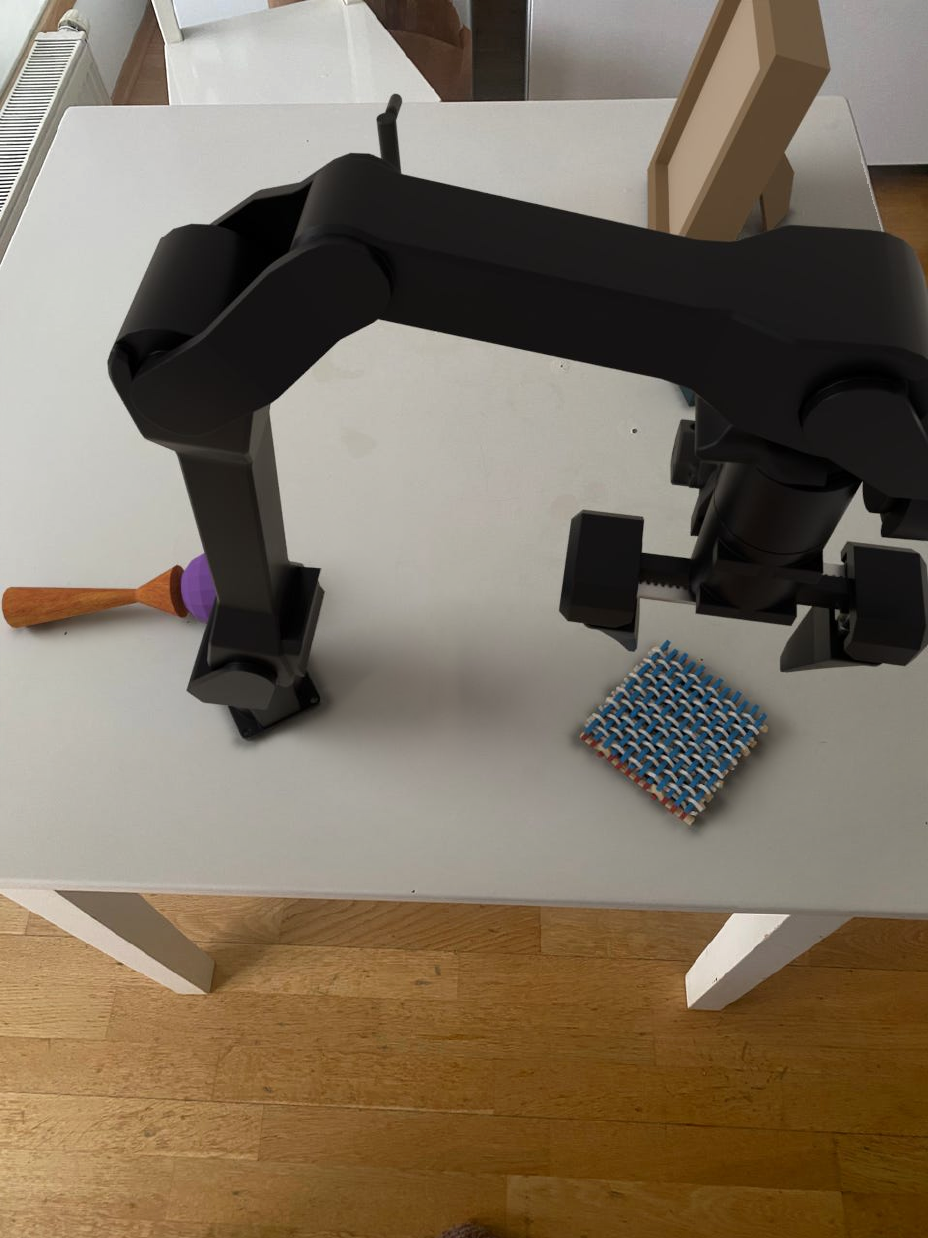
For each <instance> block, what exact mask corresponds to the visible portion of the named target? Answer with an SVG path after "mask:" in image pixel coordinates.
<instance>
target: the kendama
mask: <svg viewBox="0 0 928 1238" xmlns="http://www.w3.org/2000/svg"><path fill="white" fill-rule="evenodd" d="M215 595H216V592H215V589H214V585H213V582H212V578H211V575H210V571H209V567H208V564H207V560H206V557H205V553H204V552H202V554H200V555H198V556H196V557H194V558H193V559H192V560H190V562H189V563H188V564H187V566H186V568H185V569H184V568H183V567H182V566H181V565H179V564H176V565H175V566H172V567H171V568H169V569H167V570H166V571H164V572H162V573H161V574H159V575H158V576H156V577H154V578H152V579H151V580H149V581H147V582H146V583H144V584H143V585H141V586H139V587H137V588H114V587H113V588H112V587H111V588H110V587H109V588H108V587H53V586H52V587H51V586H50V587H48V586H46V587H45V586H44V587H43V586H10V587H8V588H6V589H5V591H4V592H3V593H2V598H1V612H2V615H3V618H4V620H5V622H6V624H7V625H9V626H10V627H11V628H14V629H20V628H24V627H29V626H34V625H38V624H43V623H47V622H53V621H57V620H62V619H66V618H72V617H76V616H81V615H85V614H90V613H96V612H100V611H105V610H109V609H115V608H119V607H124V606H128V605H133V604H138V603H139V604H141V605H144V606H148V607H150V608H153V609H156V610H158V611H162V612H163V613H167V614H170V615H173V616H175V617H178V618H182V619H185V618H186V617H187V616H188V615H189V613H190V614H191V615H193V616H194V617H195V618H196V619H197V620H198V621H200V622H204V623H206V624H207V621H208V618H209V615H210V611H211V608H212V605H213V602H214V598H215Z"/></svg>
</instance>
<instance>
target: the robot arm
mask: <svg viewBox="0 0 928 1238" xmlns="http://www.w3.org/2000/svg"><path fill="white" fill-rule="evenodd" d="M151 256H152V257H151V259H150V261H149V263H148V266H147V267H146V269H145V271H144V274H143V277H142V279H141V281H140V284H139V286H138V288H137V290H136V293H135V295H134V297H133V299H132V302H131V304H130V306H129V309H128V311H127V313H126V315H125V318H124V319H123V322H122V324H121V326H120V329H119V331H118V333H117V335H116V338H115V340H114V343H113V345H112V347H111V350H110V352H109V355H108V357H107V358H108V359H107V360H106V361H107V362H106V363H107V365H106V366H107V374H108V377H109V380H110V382H111V384H112V386H113V388H114V391H116V393H117V395H118V396H119V398H120V401H121V402H122V404H123V405H124V408H125V409H126V411H127V413H128V415H129V416H130V418H131V420H132V422H133V423H134V425H135V426H136V428H137V431H138V432H139V433H140V434H141V435H142V437H143V438H144V440H146V441H148V442H150V443H154V444H156V445H158V446H161V447H164V448H166V449H169V450H171V451H172V452H174V453H175V455H176V457H177V460H178V464H179V467H180V471H181V475H182V478H183V481H184V485H185V489H186V493H187V496H188V500H189V503H190V507H191V511H192V513H193V518H194V522H195V524H196V528H197V531H198V535H199V539H200V542H201V545H202V550H203V553H205V557H206V560H207V564H208V567H209V571H210V575H211V578H212V582H213V585H214V589H215V592H216V595H215V598H214V602H213V605H212V608H211V611H210V615H209V618H208V621H207V623H206V625H205V628H204V631H203V635H202V638H201V641H200V644H199V648H198V651H197V654H196V657H195V661H194V663H193V667H192V670H191V673H190V676H189V680H188V684H187V687H186V692H187V693H188V694H190V695H191V696H192V697H194V698H195V699H197V700H199V702H201V703H203V704H209V705H210V704H211V705H219V706H226V707H227V708H228V710H229V713H230V715H231V717H232V720H233V722H234V724H235V726H236V728H237V731H238V732H239V735H240V736H241V738H242V739H243V740H245V741H250V740H252V739H254V738H256V737H259V736H261V735H263V734H265V733H267V732H270V731H272V729H275V728H277V727H279V726H281V725H283V724H286V723H287V722H289V721H291V720H293V719H296V718H297V717H299V716H301V715H304V714H306V713H307V712H310V711H312V710H314V709H316V708H318V707H319V706H321V704H322V698H321V696H320V694H319V691H318V690H317V688H316V686H315V684H314V682H313V680H312V678H311V675H310V673H309V671H308V664H309V659H310V656H311V651H312V648H313V643H314V638H315V635H316V630H317V626H318V622H319V618H320V614H321V609H322V605H323V601H324V597H325V593H326V591H325V590H324V588H323V587H322V586H321V584H320V580H319V579H320V575H321V571H322V568H321V567H315V566H314V567H312V566H305V565H304V563H301V562H297V561H291V560H290V559H289V554H288V553H289V552H288V546H287V538H286V532H285V523H284V516H283V506H282V500H281V491H280V484H279V475H278V467H277V460H276V459H277V458H276V453H275V446H274V436H273V430H272V429H273V428H272V422H271V414H270V413H271V404H273V403H274V402H275V401H277V400H278V399H280V397H281V396H283V395H284V394H285V393H286V392H287V391H288V390H289V389H290V388H291V387H292V386H294V384H295V383H296V382H297V381H298V380H299V379H301V378H302V377H303V376H304V375H305V374H306V373H307V372H308V371H309V370H310V369H311V368H312V367H313V366H314V365H315V364H316V363H317V362H318V361H320V359H322V358H323V356H325V355H326V354H327V353H328V352H329V351H330V350H331V349H332V348H333V347H334V346H336V345H337V344H338V342H340V341H341V340H343V339H345V338H348V337H349V336H351V335H353V334H355V333H357V332H359V331H361V330H363V329H364V328H366V327H368V326H370V325H372V324H375V322H377V320H379V321H383V322H389V323H393V324H398V325H403V326H407V327H412V328H417V329H422V330H427V331H431V332H436V333H440V334H446V335H450V336H455V337H460V338H464V339H469V340H472V341H473V340H474V341H479V342H484V343H488V344H493V345H497V346H502V347H506V348H507V347H508V348H511V349H516V350H521V351H526V352H531V353H535V354H540V355H544V356H551V357H556V358H559V359H564V360H570V361H574V362H578V363H583V364H589V365H592V366H596V367H602V368H607V369H612V370H616V371H620V372H621V371H622V372H625V373H630V374H636V375H640V376H645V377H650V378H654V379H659V380H663V381H666V382H668V383H671V384H674V385H677V386H678V387H679V386H682V387H685V388H688V389H690V390H691V391H693V392H694V393H695V394H696V395H695V405H694V410H695V411H694V420H693V419H685V418H681V419H680V421H679V423H678V427H677V430H676V433H675V437H674V441H673V445H672V446H673V447H672V450H671V457H670V468H669V469H670V471H669V472H670V473H669V474H670V475H669V479H670V480H669V481H670V484H671V485H672V486H677V487H678V486H679V487H686V488H687V487H688V488H689V489H696V490H698V496H697V498H696V501H695V505H694V508H693V510H692V513H691V517H690V518H691V519H690V530H689V531H690V533H689V535H690V536H691V537H697V538H696V541H695V544H694V547H693V550H692V553H691V556H690V557H682V556H675V555H667V554H658V553H650V552H644V551H643V543H644V542H643V539H644V527H645V519H644V516H641V515H632V514H624V513H618V512H617V513H616V512H607V511H600V510H593V509H592V510H591V509H582V510H580V511H579V512H578V513H576V514H575V515H574V516H573V517H572V518H570V519H571V520H570V526H569V532H568V540H567V547H566V555H565V561H564V568H563V577H562V582H561V583H562V584H561V590H560V597H559V598H560V599H559V605H558V606H559V607H558V613H560V614H561V616H562V617H563V618H564V619H565V620H566V621H567V622H569V623H570V622H571V623H577V624H583V626H584V627H585V628H587V629H589V630H594V631H595V630H596V631H600V633H601V632H602V633H603V634H605V635H606V636H608V637H610V638H612V639H613V640H614V641H616V642H617V643H619V644H620V645H621V646H622V647H623V648H624V649H626V650H627V651H628V652H633V653H635V652H636V650H637V649H638V642H639V633H640V631H639V630H640V618H641V617H640V616H641V613H640V612H641V611H640V610H641V599H642V600H650V601H658V602H666V603H673V604H680V605H681V604H682V605H689V606H695V611H694V612H695V613H694V614H695V615H701V616H710V617H719V618H725V619H732V620H742V621H747V622H748V621H749V622H755V623H764V624H771V625H778V626H786V627H792V626H793V624H794V623H795V621H796V619H797V618H798V606H805V607H810V608H809V610H808V611H807V613H806V614H805V616H804V617H803V618H802V620H801V621H800V622H799V624H798V625H797V627H796V628H795V630H794V631H793V633H792V634H791V636H790V637H789V638H788V640H787V642H786V643H785V645H784V647H783V650H782V652H781V654H780V657H779V671H780V672H781V673H787V674H789V673H795V672H796V673H797V672H806V671H813V670H823V669H833V668H834V669H835V668H848V667H849V668H850V667H872V668H875V667H880V666H881V665H883V664H884V665H891V666H898V667H899V666H901V667H907V666H908V665H909V664H910V663H912V662H913V661H914V660H915V659H917V658H918V657H919V655H920V654H922V652H923V651H924V650H926V648H927V646H928V566H927V562H926V561H925V560H924V558H923V556H922V555H921V553H919V552H918V551H916V550H915V549H913V548H909V547H900V546H893V545H883V544H875V543H867V542H865V543H864V542H859V541H858V542H857V541H851V540H847V541H846V542H845V544H844V546H842V548H841V550H840V562H841V563H843V564H839V563H837V564H836V563H827V562H824V549H825V548H826V546H827V544H828V542H829V541H830V539H831V537H832V535H833V534H834V532H835V531H836V528H837V526H838V525H839V523H840V521H841V520H842V518H843V517H844V514H845V513H846V511H847V509H848V508H849V506H850V504H851V502H852V500H853V499H854V498H855V495H856V494H857V492H858V490H859V489H860V487H861V490H862V491H861V492H862V501H863V505H864V507H865V510H866V511H867V512H868V513H870V514H878V515H879V517H880V521H881V525H880V537H881V538H885V539H894V540H895V539H896V540H908V541H919V542H928V285H927V281H926V280H927V279H926V275H925V273H924V270H923V267H922V264H921V261H920V259H919V257H918V255H917V253H916V249H915V248H914V247H912V245H911V244H909V243H908V242H907V241H906V240H904V239H903V238H901V237H898V236H896V235H893V234H892V233H889V232H886V231H881V230H874V229H864V228H863V229H862V228H849V227H835V226H834V227H833V226H817V225H815V226H814V225H803V224H801V225H800V224H787V225H782V226H779V227H774V228H773V229H772V230H768V231H765V232H764V231H762V232H759V233H756V234H752V235H750V236H749V235H748V236H746V237H743V238H740V239H736V240H735V241H731V242H726V241H711V240H698V239H692V238H688V237H683V236H679V235H674V234H670V233H665V232H661V231H656V230H652V229H648V227H643V226H637V225H633V224H630V223H625V222H620V221H615V220H612V219H611V220H610V219H607V218H603V217H597V216H593V215H588V214H584V213H579V212H575V211H571V210H565V209H562V208H557V207H554V206H553V207H552V206H547V205H545V204H539V203H535V202H530V201H526V200H522V199H518V198H517V199H516V198H511V197H507V196H503V195H498V194H494V193H491V192H490V193H488V192H485V191H481V190H476V189H471V188H467V187H462V186H458V185H453V184H449V183H445V182H440V181H435V180H431V179H427V178H421V177H418V176H413V175H409V174H404V173H402V171H401V172H400V171H398V170H397V169H396V168H395V167H394V166H393V165H392V164H391V163H389V162H388V161H386V160H384V159H382V158H381V157H379V156H376V155H375V154H372V153H369V152H366V153H365V152H349V153H346V154H344V155H341V156H338V157H336V158H333V159H332V160H330V161H329V162H328V163H326V164H325V165H323V166H322V167H320V168H319V169H317V170H316V171H314V172H312V174H310V175H309V176H306V178H304V179H303V180H301V181H299V182H294V183H293V182H292V183H288V184H284V185H277V186H272V187H267V188H261V189H259V190H256V191H255V192H253V193H252V194H250V195H249V196H248V197H246V198H244V199H243V200H242V201H240V202H239V203H237V204H236V205H235V206H233V207H232V208H230V209H229V210H228V211H226V212H225V213H223V214H222V215H220V216H219V217H218V218H216V219H215V220H213V221H212V222H210V223H208V224H207V223H189V224H185V225H182V226H179V227H175V228H172V229H171V230H170V231H169V232H167V233H166V234H165V235H163V236H161V237H160V238H159V240H158V243H157V245H156V247H155V249H154V252H153V254H152V255H151ZM861 485H862V486H861ZM315 699H316V700H315ZM313 700H315V701H314V702H313ZM246 732H249V733H248V734H246Z"/></svg>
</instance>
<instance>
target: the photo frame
mask: <svg viewBox="0 0 928 1238" xmlns="http://www.w3.org/2000/svg"><path fill="white" fill-rule="evenodd" d="M711 15H712V16H711V17H710V19H709V23H708V24H707V27H706V29H705V32H704V33H703V36H702V38H701V41H700V44H699V46H698V49H697V51H696V53H695V55H694V58H693V60H692V62H691V65H690V67H689V70H688V72H687V75H686V77H685V79H684V82H683V84H682V86H681V89H680V91H679V94H678V96H677V97H676V101H675V102H674V105H673V108H672V110H671V112H670V115H669V117H668V119H667V121H666V125H665V127H664V129H663V132H662V134H661V136H660V139H659V141H658V143H657V146H656V148H655V151H654V153H653V155H652V158H651V160H650V162H649V165H648V167H647V171H646V172H647V173H646V175H647V180H646V181H647V183H646V184H647V229H652V230H656V231H661V232H665V233H670V234H674V235H679V236H683V237H688V238H692V239H698V240H711V241H726V242H731V241H736V240H737V239H738V236H739V235H740V233H741V231H742V229H743V227H744V226H745V224H746V223H747V220H748V219H749V217H750V215H751V214H752V212H753V210H754V208H755V206H756V204H757V202H758V201H759V207H760V214H761V222H762V229H763V230H762V231H763V232H765V231H768V230H772V229H775V228H776V226H777V225H778V224H779V223H780V222H781V221H782V220H783V219H784V217H786V215H787V214H788V213H789V212H790V204H791V198H792V191H793V184H794V177H795V171H794V168H793V166H792V164H791V162H790V161H789V158H788V157H787V154H786V151H787V149H788V147H789V146H790V143H791V142H792V140H793V138H794V136H795V135H796V133H797V131H798V129H799V127H800V126H801V123H803V120H804V119H805V117H806V115H807V114H808V111H809V110H810V108H811V106H812V104H813V102H814V101H815V99H816V98H817V95H818V93H820V90H821V88H822V86H823V85H824V83H825V82H826V79H827V77H828V75H829V74H830V72H831V70H832V69H831V64H830V58H829V57H830V56H829V53H828V52H829V51H828V47H827V41H826V35H825V30H824V24H823V19H822V14H821V7H820V3H819V0H718V1H717V4H716V6H715V8H714V10H713V12H712V14H711Z"/></svg>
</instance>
